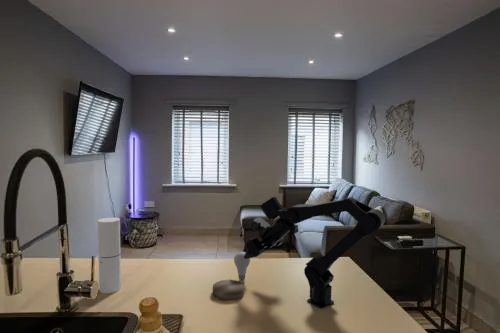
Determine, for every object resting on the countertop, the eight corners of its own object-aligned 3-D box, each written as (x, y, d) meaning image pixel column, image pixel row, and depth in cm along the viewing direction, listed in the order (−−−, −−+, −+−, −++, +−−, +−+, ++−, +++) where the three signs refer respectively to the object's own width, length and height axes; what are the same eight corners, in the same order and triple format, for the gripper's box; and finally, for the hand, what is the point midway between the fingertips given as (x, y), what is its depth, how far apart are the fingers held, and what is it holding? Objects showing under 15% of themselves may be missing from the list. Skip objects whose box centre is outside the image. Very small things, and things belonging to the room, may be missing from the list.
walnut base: (250, 294, 122) (250, 287, 121) (224, 303, 115) (224, 296, 115) (231, 283, 130) (232, 277, 130) (206, 291, 123) (206, 284, 123)
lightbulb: (250, 277, 136) (251, 249, 135) (248, 284, 130) (249, 255, 129) (235, 276, 137) (235, 249, 136) (232, 283, 131) (233, 254, 130)
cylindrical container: (113, 294, 120) (112, 222, 118) (95, 292, 122) (93, 221, 120) (124, 285, 127) (123, 218, 125) (107, 283, 129) (105, 216, 127)
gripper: (277, 208, 134) (252, 231, 141) (250, 216, 118) (224, 242, 125) (295, 231, 130) (269, 254, 137) (270, 244, 115) (241, 269, 122)
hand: (251, 254), depth 131 cm, fingers open, 9 cm apart
